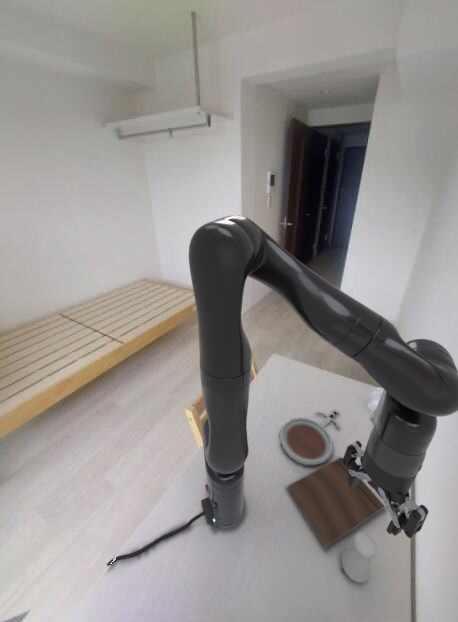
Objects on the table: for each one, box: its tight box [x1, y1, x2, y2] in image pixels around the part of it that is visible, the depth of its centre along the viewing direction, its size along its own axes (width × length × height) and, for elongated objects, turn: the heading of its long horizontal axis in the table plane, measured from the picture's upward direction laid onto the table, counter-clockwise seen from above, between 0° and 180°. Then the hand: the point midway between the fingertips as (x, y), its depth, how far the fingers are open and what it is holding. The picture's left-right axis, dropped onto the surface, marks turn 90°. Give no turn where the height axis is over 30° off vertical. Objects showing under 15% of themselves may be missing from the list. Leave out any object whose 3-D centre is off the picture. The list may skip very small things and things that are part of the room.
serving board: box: [287, 457, 385, 549], centre depth 74 cm, size 20×15×2 cm
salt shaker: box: [341, 531, 377, 583], centre depth 58 cm, size 6×6×13 cm
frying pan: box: [279, 409, 340, 467], centre depth 92 cm, size 17×3×28 cm
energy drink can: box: [372, 390, 386, 425], centre depth 92 cm, size 6×6×15 cm
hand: (371, 506), depth 51 cm, fingers open, 8 cm apart
